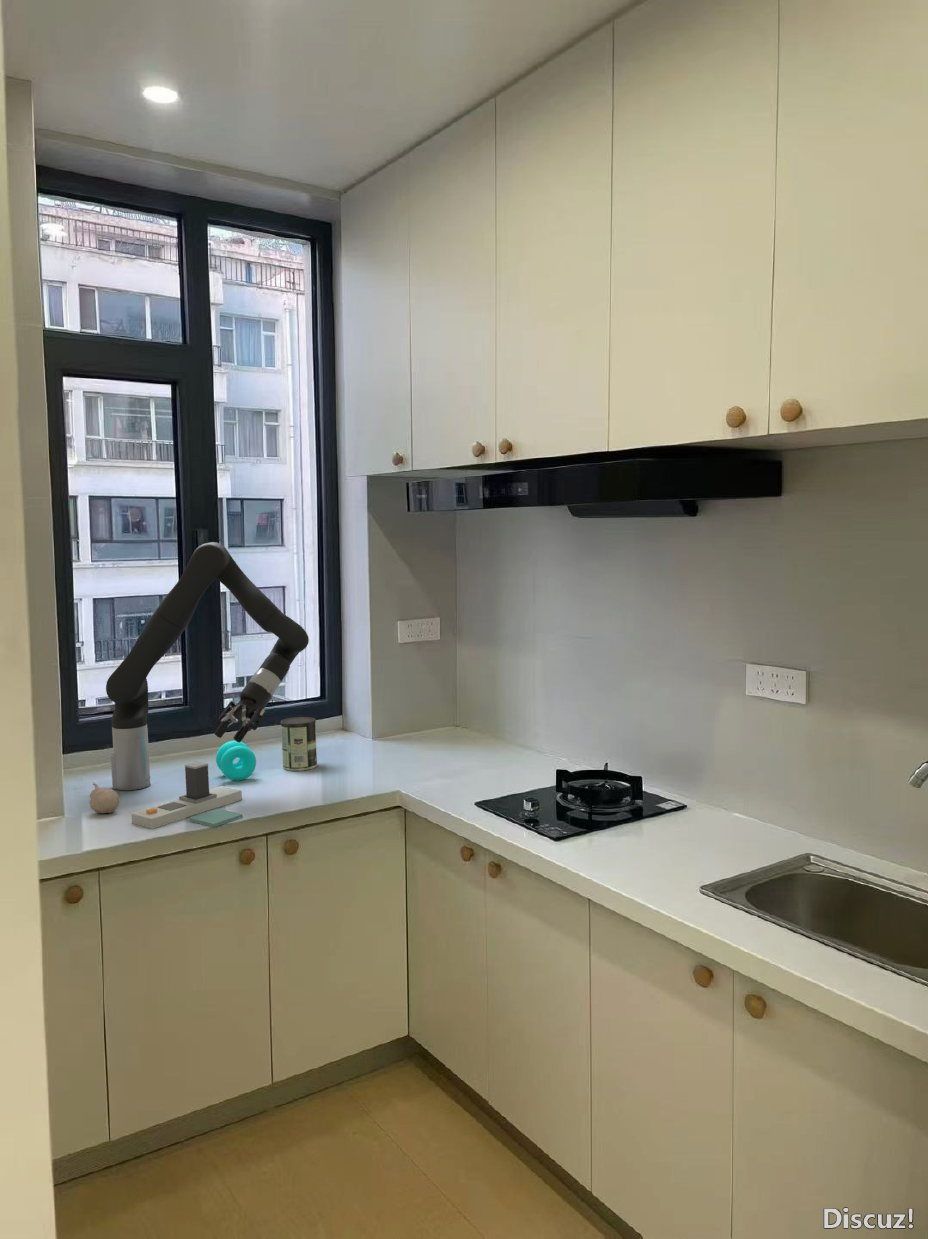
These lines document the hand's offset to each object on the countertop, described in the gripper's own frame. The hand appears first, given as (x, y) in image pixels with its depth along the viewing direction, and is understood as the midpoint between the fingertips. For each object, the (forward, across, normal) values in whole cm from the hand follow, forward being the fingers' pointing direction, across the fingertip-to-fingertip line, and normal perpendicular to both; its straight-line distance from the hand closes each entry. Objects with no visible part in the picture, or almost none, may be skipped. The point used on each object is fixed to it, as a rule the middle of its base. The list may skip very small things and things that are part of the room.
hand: (226, 738), depth 247 cm
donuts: (+2, -16, +22) cm, 27 cm away
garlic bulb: (+31, -15, -7) cm, 35 cm away
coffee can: (-11, -11, +35) cm, 38 cm away
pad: (+20, +12, +3) cm, 23 cm away
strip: (+20, 0, +3) cm, 20 cm away
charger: (+16, 0, +3) cm, 17 cm away
